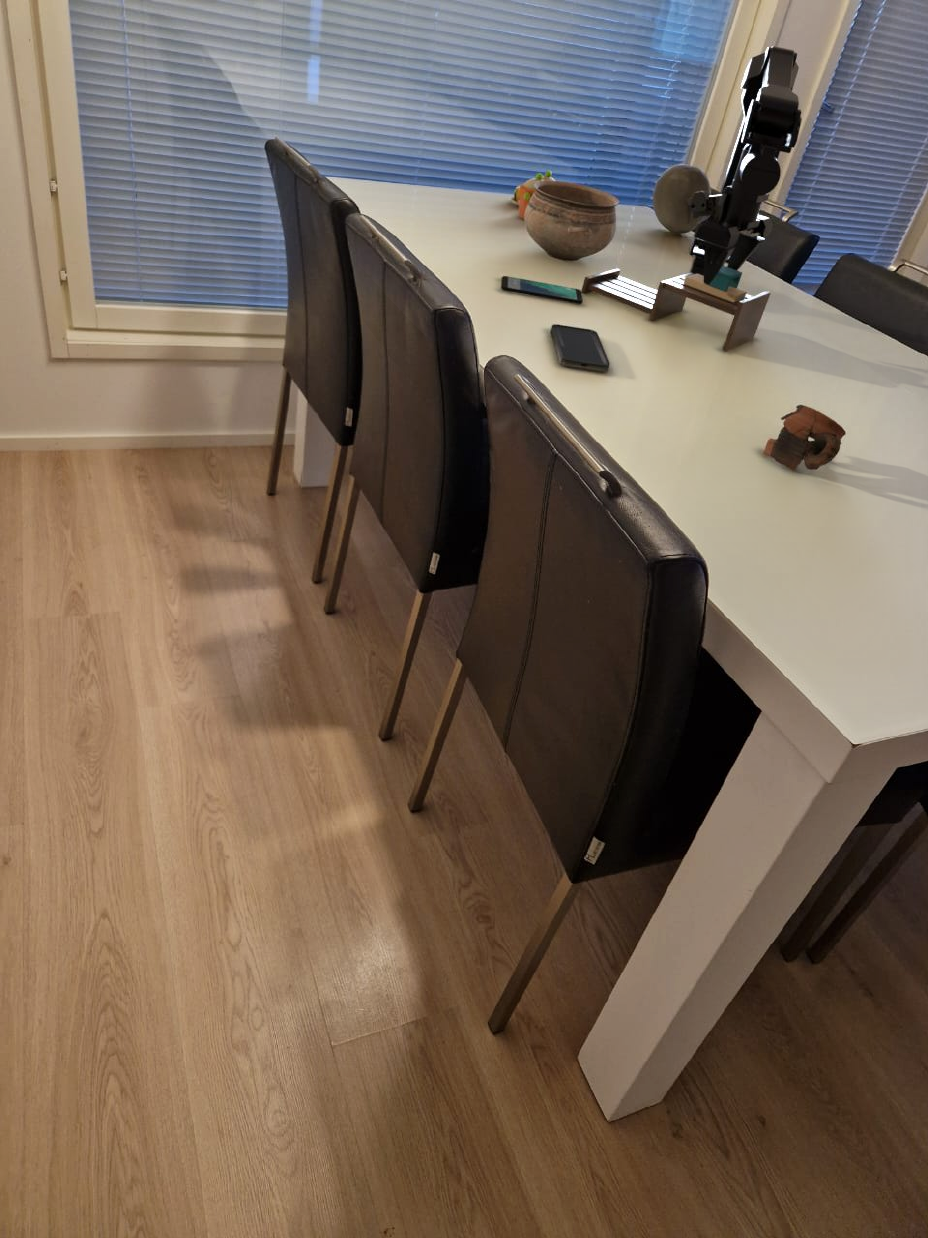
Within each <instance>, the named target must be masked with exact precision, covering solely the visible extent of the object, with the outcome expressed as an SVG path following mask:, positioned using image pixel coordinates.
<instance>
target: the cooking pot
mask: <svg viewBox="0 0 928 1238" xmlns="http://www.w3.org/2000/svg"><path fill="white" fill-rule="evenodd" d="M534 187H535V189H536V190H535V192H534V193H533V195H532V196H531V198H530V200H529V202H528V204H527V207H526V209H525V214H524V219H523V220H524V226H525V229H526V232H527V233H528V235H529V237H530V238H531V239H532V240H533V241H534V243H536V244H537V246H539V247H540V248H541V249H542V250H543V251H544V252H545V253H546V254H547V255H548V256H549V257H551V258H554V259H556V260H560V261H566V262H576V261H579V260H581V259H584V258H587V257H590V256H593V255H595V254H597V253H599V252H601V251H604V250H605V249H606V248H607V247H608V246H609V245H610V243H611V242H612V241H613V239H614V237H615V235H616V232H617V211H616V207H617V206H618V205H619V204H620V200H619V199H618V198H617V197H616V196H614V195H613V194H610V193H609V192H606V191H603V190H601V189H598V188H595V187H591V186H588V185H584V184H579V183H575V182H569V181H563V180H555V181H552V180H543V181H537V182H535V183H534Z"/></svg>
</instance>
